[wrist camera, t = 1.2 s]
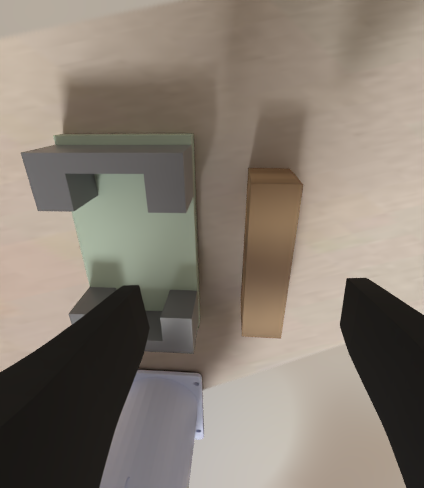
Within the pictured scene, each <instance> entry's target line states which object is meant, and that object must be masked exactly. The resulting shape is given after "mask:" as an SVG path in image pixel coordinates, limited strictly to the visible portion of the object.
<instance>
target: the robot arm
mask: <svg viewBox="0 0 424 488" xmlns="http://www.w3.org/2000/svg"><path fill="white" fill-rule="evenodd" d="M340 327H341V331H342V334H343V337H344V340H345V343H346V346H347V349H348V352H349V355H350V356H351V359H352V361H353V363H354V365H355V368H356V370H357V372H358V374H359V376H360V378H361V380H362V382H363V384H364V387H365V389H366V391H367V393H368V395H369V397H370V399H371V401H372V403H373V405H374V407H375V409H376V412H377V414H378V416H379V418H380V420H381V422H382V425H383V427H384V429H385V431H386V434H387V436H388V439H389V441H390V444H391V447H392V449H393V452H394V455H395V458H396V460H397V463H398V466H399V468H400V471H401V474H402V476H403V479H404V482H405V485H406V488H424V315H423V314H421V313H420V312H418V311H416V310H415V309H413V308H412V307H410V306H409V305H407V304H406V303H404V302H403V301H401V300H400V299H398V298H397V297H395V296H394V295H392V294H391V293H389V292H388V291H386V290H385V289H383V288H382V287H380V286H379V285H377V284H375V283H374V282H372V281H371V280H369V279H367V278H347V280H346V287H345V294H344V300H343V307H342V314H341V321H340ZM149 329H150V327H149V323H148V319H147V315H146V311H145V307H144V303H143V299H142V295H141V291H140V286H139V285H123V286H122V287H120V288H119V289H117V290H116V291H115V292H113V293H112V294H111V295H109V296H108V297H107V298H106V299H104V300H103V301H102V302H101V303H99V304H98V305H97V306H96V307H94V308H93V309H92V310H90V311H89V312H88V313H87V314H85V315H84V316H83V317H82V318H80V319H79V320H78V321H76V322H75V323H74V324H72V325H71V326H70V327H68V328H67V329H65V330H64V331H63V332H61V333H60V334H59V335H57V336H56V337H55V338H53V339H52V340H50V341H49V342H48V343H46V344H45V345H43V346H42V347H40V348H39V349H37V350H36V351H34V352H33V353H31V354H30V355H28V356H26V357H25V358H23V359H22V360H20V361H18V362H17V363H15V364H14V365H12V366H10V367H9V368H7V369H5V370H3V371H2V372H0V488H189V480H190V472H191V463H192V455H193V446H194V439H203V437H204V423H203V422H204V421H203V395H202V394H203V393H202V376H201V375H200V374H199V373H189V372H170V371H152V370H138V368H139V365H140V362H141V360H142V357H143V354H144V350H145V346H146V343H147V338H148V334H149Z"/></svg>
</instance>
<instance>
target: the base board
mask: <svg viewBox="0 0 424 488" xmlns="http://www.w3.org/2000/svg"><path fill="white" fill-rule="evenodd" d="M53 137H54V141H55V145H192V169H193V195H194V197H193V199H192V201H191V203H190V206H189V208H188V210H187V212H186V213H148V208H147V199H146V191H145V182H144V174H94V175H95V180H96V186H97V191H98V196H97V197H95V198H94V199H92V200H91V201H89V202H88V203H86V204H85V205H83V206H82V207H80V208H79V209H77V210H76V211H72V215H73V219H74V223H75V228H76V232H77V236H78V240H79V244H80V248H81V252H82V256H83V261H84V265H85V269H86V273H87V277H88V281H89V285H90V287H105V288H116V289H119V288H120V287H122V286H123V285H139V286H140V291H141V295H142V299H143V303H144V307H145V310H146V311H163V308H164V305H165V302H166V300H167V297H168V294H169V291H170V290H193V291H197V296H198V321H199V323H200V300H199V273H198V245H197V217H196V190H195V162H194V134H60V135H55V136H53ZM199 323H198V328H199Z"/></svg>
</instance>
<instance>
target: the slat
mask: <svg viewBox="0 0 424 488" xmlns="http://www.w3.org/2000/svg"><path fill="white" fill-rule="evenodd" d="M302 190H303V184H302V183H301V181H300V180H299V179H298V178H297V177H296V175H295V174H294V173H293V172H292V171H291V170H290V169H282V168H248V183H247V200H246V218H245V235H244V253H243V270H242V288H241V325H242V336H245V337H263V338H281V334H282V327H283V320H284V313H285V307H286V300H287V293H288V286H289V279H290V272H291V265H292V259H293V252H294V245H295V238H296V231H297V224H298V217H299V211H300V204H301V197H302Z"/></svg>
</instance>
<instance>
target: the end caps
mask: <svg viewBox="0 0 424 488" xmlns="http://www.w3.org/2000/svg"><path fill="white" fill-rule="evenodd" d="M21 155H22V159H23V162H24V165H25V169H26V172H27V176H28V179H29V182H30V186H31V189H32V192H33V196H34V199H35V202H36V206H37V209H38V211H76V210H77V209H79V208H80V207H82V206H83V205H85V204H86V203H88V202H89V201H91V200H92V199H94V198H95V197H97V196H98V191H97V186H96V180H95V175H94V174H144V182H145V191H146V199H147V208H148V213H186V212H187V210H188V208H189V206H190V203H191V201H192V199H193V197H194V195H193V169H192V145H53V146H48V147H44V148H39V149H35V150H30V151H26V152H22V153H21ZM116 290H117V289H116V288H105V287H89V289H88V290H87V291H86V293H85V294H84V295H83V296H82V298H81V299H80V300H79V301H78V303H77V304H76V305H75V306H74V308H73V309H72V310H71V311H70V313H69V317H70V320H71V324H74V323H75V322H76V321H78V320H79V319H80V318H82V317H83V316H84V315H85V314H87V313H88V312H89V311H90V310H92V309H93V308H94V307H96V306H97V305H98V304H99V303H101V302H102V301H103V300H104V299H106V298H107V297H108V296H109V295H111V294H112V293H113V292H115V291H116ZM145 311H146V310H145ZM146 315H147V319H148V323H149V327H150V329H149V334H148V338H147V343H146V346H145V350H144V351H150V352H170V353H191V354H194V348H195V342H196V335H197V329H198V323H199V321H198V296H197V291H193V290H170V291H169V294H168V297H167V300H166V302H165V305H164V308H163V311H146Z"/></svg>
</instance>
